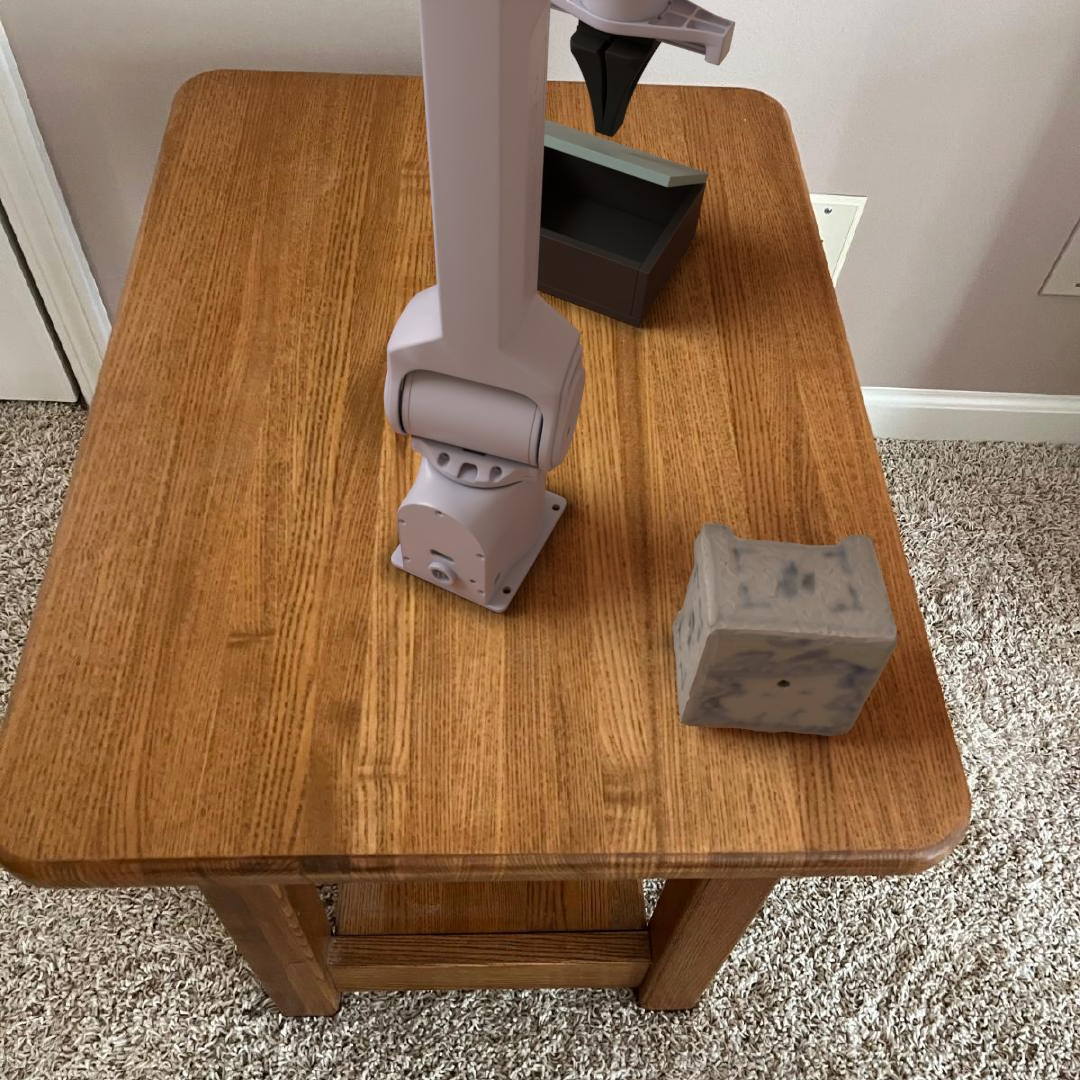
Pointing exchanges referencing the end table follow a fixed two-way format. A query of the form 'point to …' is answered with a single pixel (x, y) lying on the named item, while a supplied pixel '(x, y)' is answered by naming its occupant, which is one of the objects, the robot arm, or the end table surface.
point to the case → (611, 235)
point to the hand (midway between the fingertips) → (609, 127)
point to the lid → (620, 157)
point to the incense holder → (781, 633)
